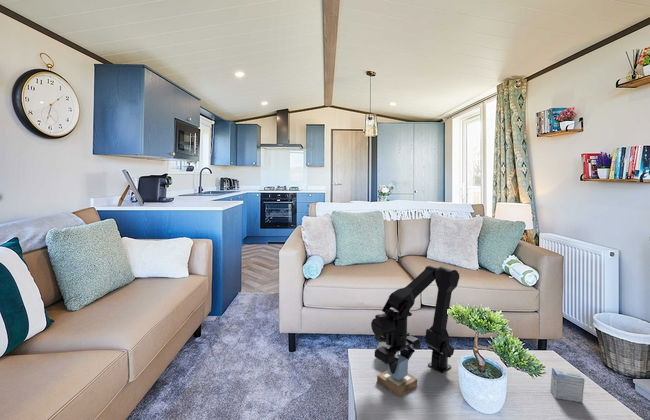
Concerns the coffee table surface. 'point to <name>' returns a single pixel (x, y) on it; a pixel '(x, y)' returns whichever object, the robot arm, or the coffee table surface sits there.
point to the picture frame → (397, 383)
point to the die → (384, 345)
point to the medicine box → (567, 385)
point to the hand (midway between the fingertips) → (397, 370)
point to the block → (400, 368)
